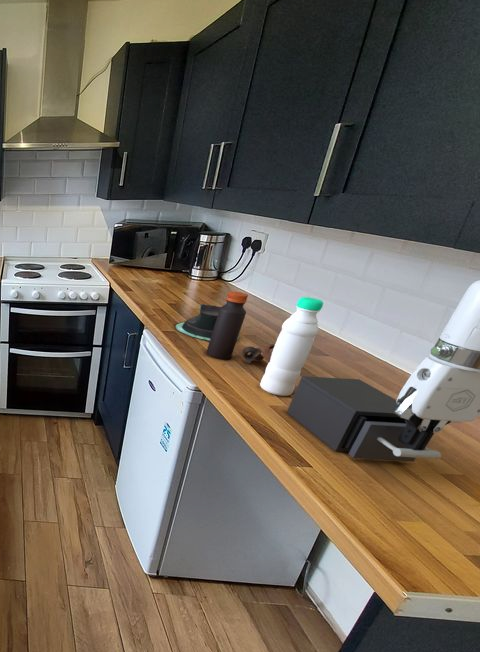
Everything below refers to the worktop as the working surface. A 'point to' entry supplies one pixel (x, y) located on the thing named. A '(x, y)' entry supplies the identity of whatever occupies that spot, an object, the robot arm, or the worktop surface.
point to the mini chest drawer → (382, 440)
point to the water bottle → (292, 348)
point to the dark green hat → (201, 323)
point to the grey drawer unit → (337, 407)
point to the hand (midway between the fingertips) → (409, 445)
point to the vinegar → (227, 326)
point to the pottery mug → (257, 353)
